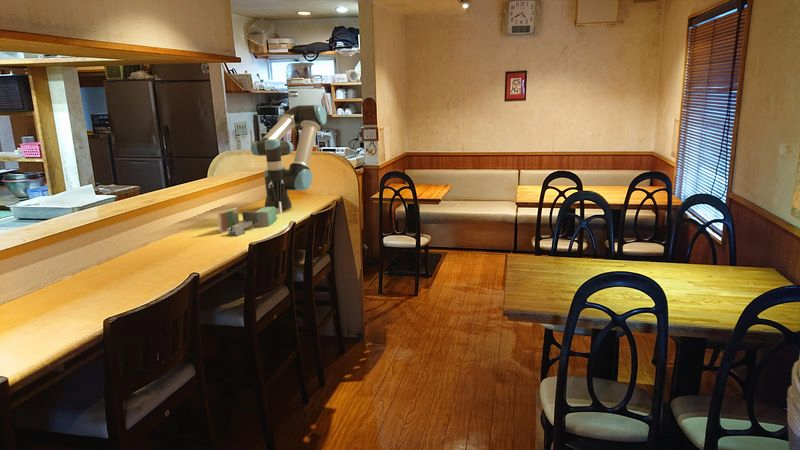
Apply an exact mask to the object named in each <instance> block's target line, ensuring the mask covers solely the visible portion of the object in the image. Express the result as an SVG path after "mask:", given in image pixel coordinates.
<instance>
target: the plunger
mask: <svg viewBox="0 0 800 450" xmlns="http://www.w3.org/2000/svg"><path fill="white" fill-rule="evenodd" d="M238 214H242V222H239V224H236V225H233V226H232V231H235V229H236V228H239V227H243V230H244V229H247V228H249V227H250V226H255V222H259V221H260V217H259V212H256V211H244V210H243V211H238Z"/></svg>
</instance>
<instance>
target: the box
mask: <svg viewBox="0 0 800 450" xmlns="http://www.w3.org/2000/svg"><path fill="white" fill-rule="evenodd" d="M255 212H259V217H260V221H259V222H255V224H254V227H256V228H258V227H259V228H261V227H262V228H263V227H264V228H265V227H266V228H267V227H269V226H271V225H272V224H273V223H275V222H276V221H278V218H277V214H276V208H275V207H265V206H264V207H262V206H261V208H259V209H257V210H256V211H255Z"/></svg>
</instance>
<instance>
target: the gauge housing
mask: <svg viewBox="0 0 800 450" xmlns="http://www.w3.org/2000/svg"><path fill="white" fill-rule="evenodd" d="M238 210H239V209H238V206H235V207H232V208H229V209H225V210H222V211H220V212H219V211H218V212H217V220H218V228H219V229H218V230H219V234H221V235H222V234H224V233H227V234H226V236H229V237H231V236H232V237H240V236H242V235H244V234H246V232H244V229H243V227H239V228H236V229H235V231H232V226H233V225H236V224H239V223H240V218H239V213H238V212H239V211H238Z"/></svg>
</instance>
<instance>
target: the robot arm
mask: <svg viewBox="0 0 800 450" xmlns="http://www.w3.org/2000/svg"><path fill="white" fill-rule="evenodd" d="M326 124H327V113H326V110H325V108H324V106H322V105H320V104H311V105H308V104H307V105H306V104H304V105H303V104H302V105H301V104H300V105H295V106H293V107H291V108H290V109H287V110H286V111H285V112H284V113H283V114H282V115H281V116H280V118H279V120H278V121H277V123H276V124H275V125H273V127H272V128H271V129H270V130H269V131H268V132H267V133H266V134H265V135H264V136H263V137H262V138H261V139H260V140H259V141H257V140H256V141H253V142H252V143H251V144H250V151H251V154H252V155H254V156H259V157H263V156H265V157H266V159H265V160H266V167H267V168H266V169H265V170H264V182H265V183H264V184H265V192H266V198H265V203H264V207H275V208H276V215H281V214H283V210H288V209H290V208H292V206H293V205H292V204H293V203H292V201H291V199H290V196H289V194H288V191H299V192H300V191H306V190H308V189H309V188H310V187H311V185H312V183H313V173H312V171H311V168H310V167H309V165H310V161H311V157H312V153H313V148H314V145H315V141H316V137H317V133H318V132H319V131H320V130H321V127H322V126H325V125H326ZM298 126H300V127H301V132H300V134H299V139H298V143H297V146H296V152H295V154H294V158H293V159H294V160H293V162H292V163H290V164H289V167H288V168H287V169H286V167H285V166H283V161H282V157H284V156H288V155H291V154H292V153H293V151H294V145H293V143H292V142H291V140H290V141H289V140H282V139H283V138H284V136H286V134H287V133H288V132H289V131H290V130H292V129H294V128H295V127H298ZM281 140H282V141H281Z"/></svg>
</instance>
